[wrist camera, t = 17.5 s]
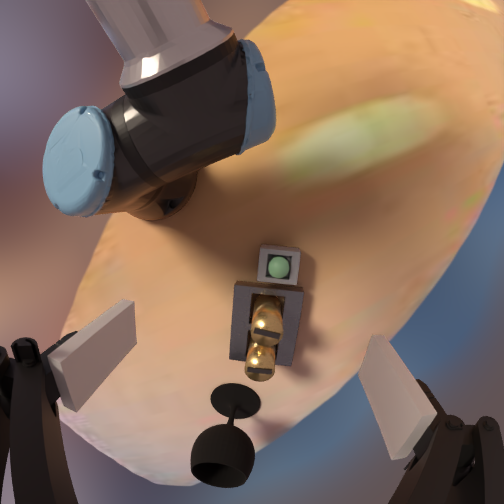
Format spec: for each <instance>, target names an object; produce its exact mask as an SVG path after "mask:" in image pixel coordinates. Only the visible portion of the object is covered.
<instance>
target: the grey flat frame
mask: <svg viewBox="0 0 504 504" xmlns="http://www.w3.org/2000/svg"><path fill="white" fill-rule="evenodd" d="M252 293H256V294H266V295H275V296H285V297H284V304H283V311H282V324H283V337H282V339H281V340H280V341H279V342H278V345H277V352H276V353H275V365H285V366H291V365H292V360H293V354H294V349H295V344H296V338H297V332H298V327H299V321H300V315H301V309H302V302H303V296H304V291H303V288H302V287H292V286H282V285H272V284H263V283H254V282H245V281H236V283H235V285H234V298H233V311H232V325H231V339H230V354H229V359H231V360H238V361H246V359H247V354H248V350H247V343H248V333H249V330H251V326H252V318H250V312H251V302H252Z"/></svg>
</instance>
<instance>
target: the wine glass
mask: <svg viewBox="0 0 504 504" xmlns="http://www.w3.org/2000/svg"><path fill="white" fill-rule="evenodd" d="M211 403H212V405H213V407H214V408H215V410H216V411H217V412H219V413H220V414H222V415H224V416H226V417H229V420H228V422H227V424H220V425H215V426H212V427H210V428H208V429H206V430H205V431H203V432H202V433H201V434H200V435H199V436H198V438H197V439H196V441H195V443H194V445H193V448H192V452H191V472H192V474H193V475H194V476H195V477H196V478H197V479H198V480H200V481H202V482H203V483H206V484H208V485H211V486H216V487H222V488H233V487H238V486H241V485H243V484H244V483H245V482H246V480H247V479H248V477H249V475H250V473H251V471H252V468H253V465H254V460H255V450H254V446H253V443H252V441H251V439H250V438H249V436H248V435H247V434H246V433H245V432H244V431H242V430H241V429H239V428H238V427H236V426H234V419H243V418H247V417H250V416H252V415H254V414H255V413H256V412H257V411H258V409H259V407H260V399H259V397H258V395H257V394H256V393H255V392H254V391H253V390H252V389H251V388H249V387H247V386H244V385H241V384H236V383H228V384H223V385H220V386H218V387H217V388H215V389H214V390H213V392H212V394H211Z"/></svg>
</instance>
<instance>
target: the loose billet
mask: <svg viewBox="0 0 504 504" xmlns="http://www.w3.org/2000/svg"><path fill="white" fill-rule="evenodd" d="M274 372H275V345H273V346H268V347H266V346H261V345H258V344H257V343H256V342H255V341H254V340H253V339H252V337H251V339H250V344H249V349H248V354H247V359H246V364H245V373H246V375H247V376H248V377H249V378H250V379H252V380H254V381H258V382H262V381H266V380H269V379H270V378H271V377H272V376H273V375H274Z"/></svg>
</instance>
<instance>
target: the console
mask: <svg viewBox="0 0 504 504" xmlns="http://www.w3.org/2000/svg"><path fill="white" fill-rule="evenodd" d="M277 255H280V256H283V257H285V258H286V259H287V261H288V264H289V271H288V273H287V275H286V276H284V277H282V278H275V277H273V276H272V275H271V274H270V273H269V269H268V267H269V261H270V260H271V258H272V257H274V256H277ZM300 256H301V252H300V250H299V248H294V247H284V246H275V245H265V244H261V247H260V254H259V265H258V275H257V281H262V282H271V283H281V284H291V285H297V279H298V271H299V264H300Z"/></svg>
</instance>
